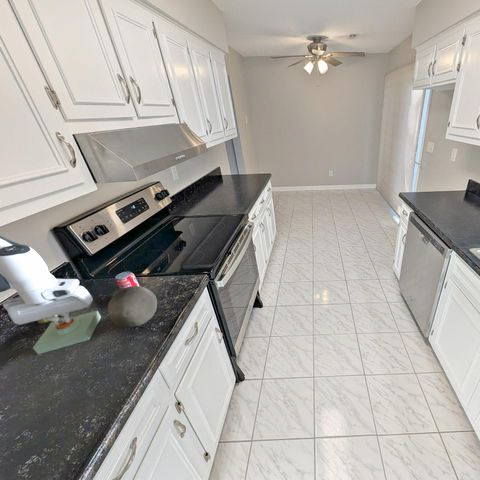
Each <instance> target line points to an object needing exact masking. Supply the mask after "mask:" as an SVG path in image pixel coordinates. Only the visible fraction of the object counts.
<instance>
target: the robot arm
mask: <svg viewBox="0 0 480 480" xmlns="http://www.w3.org/2000/svg"><path fill="white" fill-rule="evenodd" d="M12 289H13V290H15V292H16V294H17V295H18V294H19V295H20V296H19V295H18V296H16V297H12V298H8V299H6V300H5V301H4V302H3V303H2V307H3V308H4V309H5V310H6V311H7V314H8V316H9V318H10V319H11V321H12V322H13V323H14V324H16V325H19V326H21V325H25V324H29V323H33V322H37V320H41V319H45V318H47V319H48V320H50V321H49V322H56V324H57V325H58V326H59V325H62V324H66V323H69V322H70V318H69V317H70V313H72V312H75V311H80V310H83V309H87V308H89V307H90V306H91V305H92V303H93V301H94V298H93V296H92V295H91V293H90V292H89V290H88V289H86V287H84V286H83V285H80V280H79V279H77V278H56V277H55V276H54V275H53V274H52V273H51V272H50V270H49V266H48V264H47V263H46V261H45V260H44V259H43V258H42V256H41V255H40V254H39V253H38V252H37V251H36V249H33V248H32V247H31V246H30V245H27V244H21V243H18V242H15V241H12V240H10V239H8V238H7V237H4V236H3V235H0V293H3V292H6V291H8V290H12ZM56 315H58V316H56ZM59 316H61V317H59Z"/></svg>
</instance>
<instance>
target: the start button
mask: <svg viewBox="0 0 480 480" xmlns="http://www.w3.org/2000/svg"><path fill="white" fill-rule="evenodd" d="M72 322H73V321H72V320H71V319H70V322H69V323H66V324H62V325H59V326H58V325H57V328H58V329H62V328H65V327H67V326H69V325H70V324H72Z"/></svg>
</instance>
